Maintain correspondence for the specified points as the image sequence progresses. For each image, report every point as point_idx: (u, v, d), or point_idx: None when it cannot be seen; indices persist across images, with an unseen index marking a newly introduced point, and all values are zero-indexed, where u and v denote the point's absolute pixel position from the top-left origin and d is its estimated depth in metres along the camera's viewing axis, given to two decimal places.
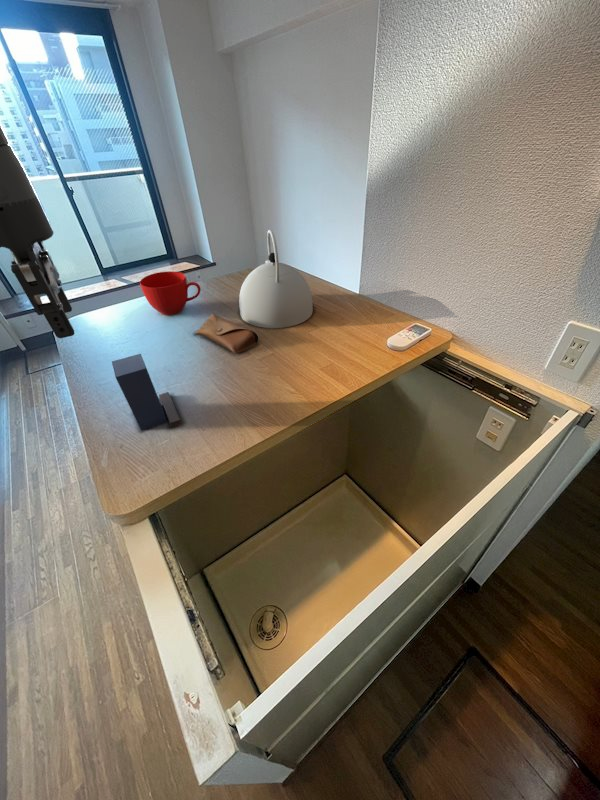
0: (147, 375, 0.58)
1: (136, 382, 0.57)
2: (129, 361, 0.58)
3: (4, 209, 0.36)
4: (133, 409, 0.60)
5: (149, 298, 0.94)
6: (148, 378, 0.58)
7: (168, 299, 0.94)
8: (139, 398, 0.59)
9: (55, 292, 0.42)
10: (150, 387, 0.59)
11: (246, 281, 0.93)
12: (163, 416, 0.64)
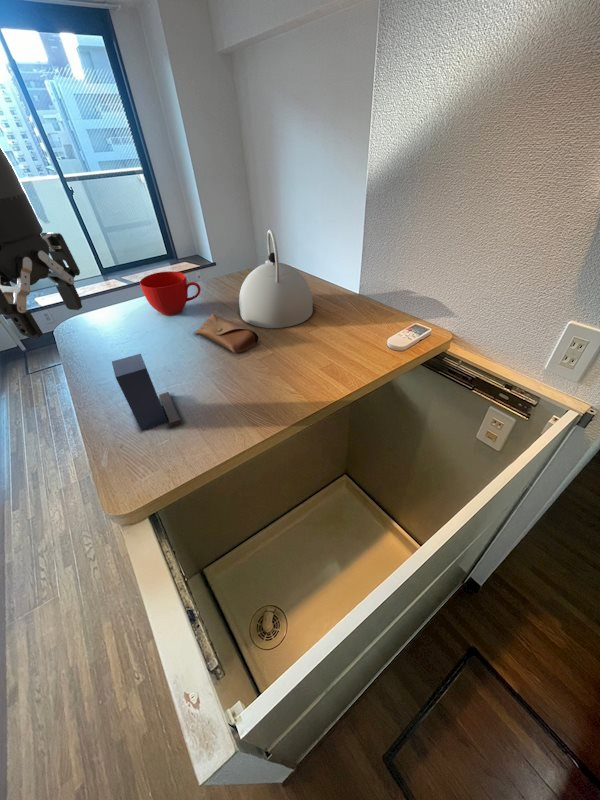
0: (147, 375, 0.58)
1: (136, 382, 0.57)
2: (129, 361, 0.58)
3: None
4: (133, 409, 0.60)
5: (149, 298, 0.94)
6: (148, 378, 0.58)
7: (168, 299, 0.94)
8: (139, 398, 0.59)
9: (19, 294, 0.41)
10: (150, 387, 0.59)
11: (246, 281, 0.93)
12: (163, 416, 0.64)
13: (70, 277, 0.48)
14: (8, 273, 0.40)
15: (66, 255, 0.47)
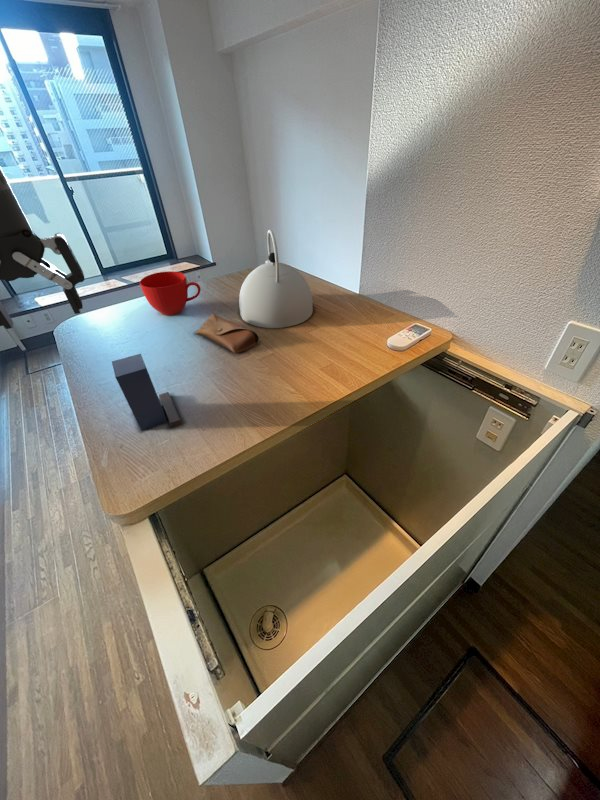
0: (147, 375, 0.58)
1: (136, 382, 0.57)
2: (129, 361, 0.58)
3: None
4: (133, 409, 0.60)
5: (149, 298, 0.94)
6: (148, 378, 0.58)
7: (168, 299, 0.94)
8: (139, 398, 0.59)
9: None
10: (150, 387, 0.59)
11: (246, 281, 0.93)
12: (163, 416, 0.64)
13: (66, 282, 0.45)
14: None
15: (66, 260, 0.44)
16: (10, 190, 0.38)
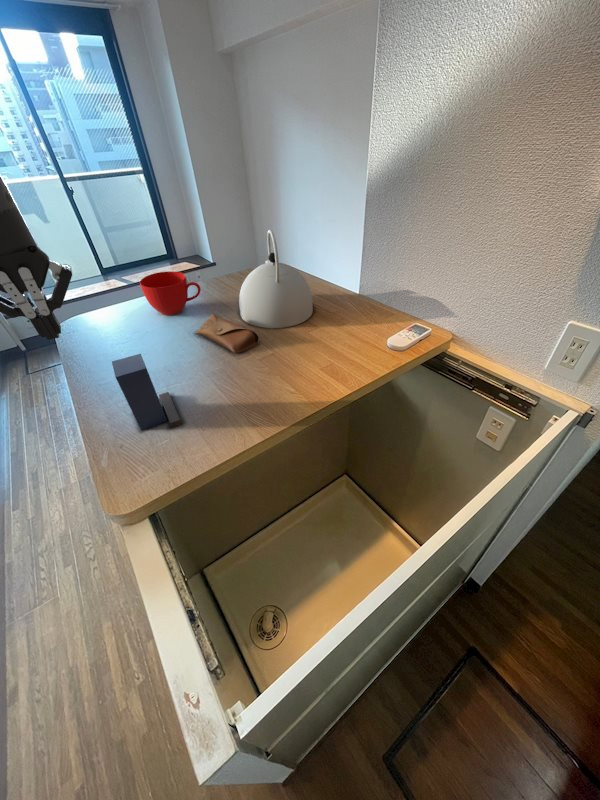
0: (147, 375, 0.58)
1: (136, 382, 0.57)
2: (129, 361, 0.58)
3: None
4: (133, 409, 0.60)
5: (149, 298, 0.94)
6: (148, 378, 0.58)
7: (168, 299, 0.94)
8: (139, 398, 0.59)
9: (20, 304, 0.44)
10: (150, 387, 0.59)
11: (246, 281, 0.93)
12: (163, 416, 0.64)
13: (43, 309, 0.46)
14: None
15: (58, 287, 0.45)
16: (16, 208, 0.39)
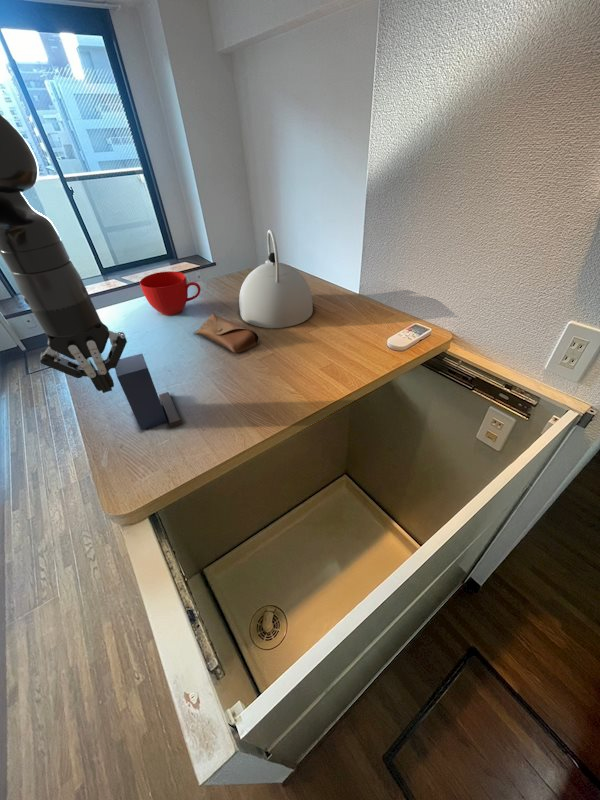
0: (148, 375, 0.58)
1: (137, 382, 0.57)
2: (130, 361, 0.58)
3: (31, 309, 0.46)
4: (134, 409, 0.60)
5: (149, 298, 0.94)
6: (149, 378, 0.58)
7: (168, 299, 0.94)
8: (139, 398, 0.59)
9: (84, 367, 0.53)
10: (151, 387, 0.59)
11: (246, 281, 0.93)
12: (163, 416, 0.64)
13: (102, 369, 0.55)
14: (69, 357, 0.52)
15: (115, 352, 0.54)
16: (88, 296, 0.48)
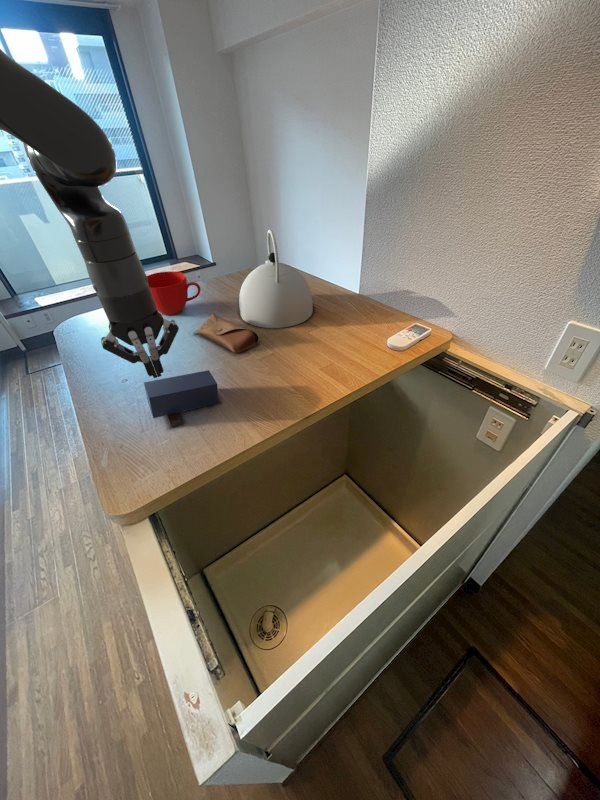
0: (211, 403, 0.68)
1: (207, 396, 0.67)
2: None
3: None
4: (179, 393, 0.63)
5: None
6: (208, 404, 0.68)
7: (168, 299, 0.94)
8: (190, 397, 0.65)
9: (140, 353, 0.56)
10: (198, 405, 0.67)
11: (246, 281, 0.93)
12: (161, 415, 0.64)
13: (155, 355, 0.58)
14: (127, 343, 0.55)
15: (167, 339, 0.57)
16: (148, 284, 0.51)
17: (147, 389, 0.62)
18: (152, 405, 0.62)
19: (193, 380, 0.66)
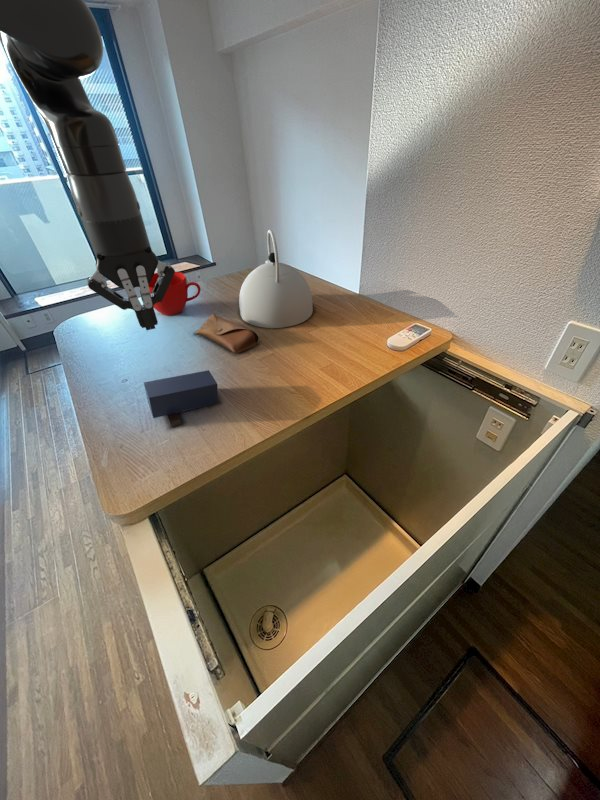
0: (211, 403, 0.68)
1: (207, 396, 0.67)
2: None
3: (83, 223, 0.43)
4: (179, 393, 0.63)
5: None
6: (208, 404, 0.68)
7: (168, 299, 0.94)
8: (190, 397, 0.65)
9: (131, 298, 0.50)
10: (198, 405, 0.67)
11: (246, 281, 0.93)
12: (161, 415, 0.64)
13: (148, 302, 0.52)
14: (117, 285, 0.49)
15: (162, 283, 0.51)
16: None
17: (147, 389, 0.62)
18: (152, 405, 0.62)
19: (193, 380, 0.66)
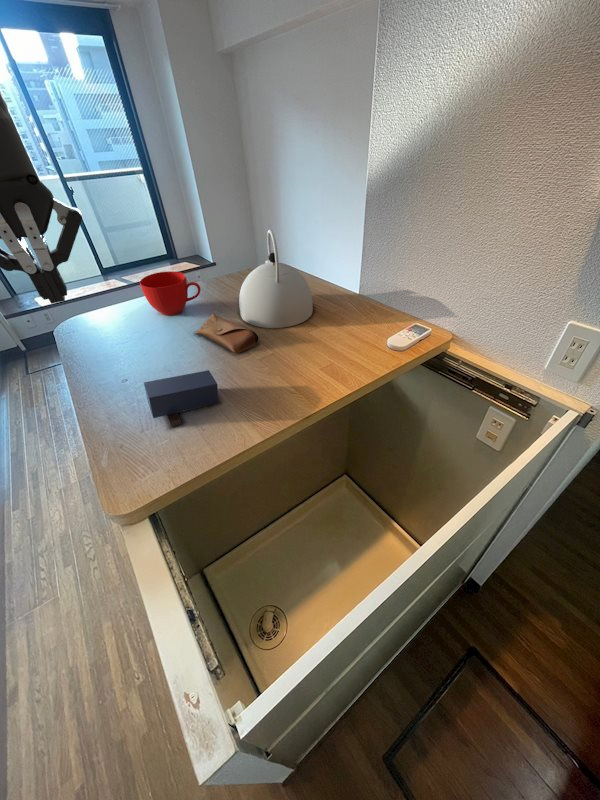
0: (211, 403, 0.68)
1: (207, 396, 0.67)
2: None
3: None
4: (179, 393, 0.63)
5: (149, 298, 0.94)
6: (208, 404, 0.68)
7: (168, 299, 0.94)
8: (190, 397, 0.65)
9: (17, 254, 0.35)
10: (198, 405, 0.67)
11: (246, 281, 0.93)
12: (161, 415, 0.64)
13: (46, 262, 0.37)
14: None
15: (65, 234, 0.36)
16: (12, 121, 0.30)
17: (147, 389, 0.62)
18: (152, 405, 0.62)
19: (193, 380, 0.66)
